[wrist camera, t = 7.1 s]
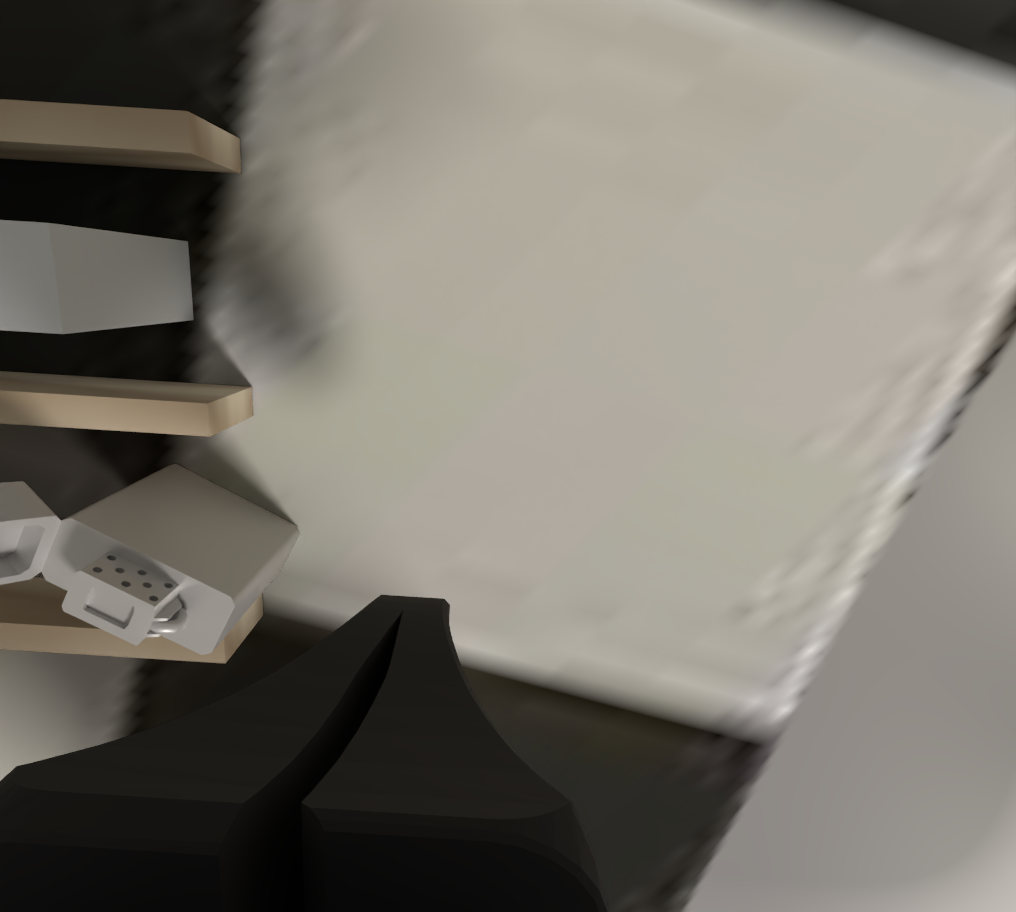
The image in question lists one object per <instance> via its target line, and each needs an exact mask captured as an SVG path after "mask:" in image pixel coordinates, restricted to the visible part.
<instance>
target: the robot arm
mask: <svg viewBox="0 0 1016 912" xmlns="http://www.w3.org/2000/svg"><path fill="white" fill-rule="evenodd" d="M449 610H450V605H449V604H448V603H447V601H446V600H445V599H438V598H422V597H406V596H390V595H380V596H379V597H378V598H376V599H375V600H374V601H372V602H371V603H370V604H369V605H367V606H366V607H365V608H364V609H362V610H361V611H360V612H359V613H358V614H356V615H355V616H354V617H352V618H351V619H350V620H349V621H347V622H346V623H345V624H343V625H342V626H341V627H340V628H338V629H337V630H336V631H334V632H333V633H332V634H330V635H329V636H328V637H326V638H325V639H324V640H322V641H321V642H319V643H318V644H316V645H315V646H313V647H312V648H310V649H309V650H307V651H306V652H304V653H303V654H301V655H300V656H299V657H297V658H296V659H294V660H293V661H291V662H290V663H288V664H287V665H285V666H283V667H282V668H280V669H278V670H277V671H275V672H273V673H272V674H270V675H268V676H266V677H265V678H263V679H261V680H259V681H257V682H255V683H253V684H251V685H250V686H248V687H246V688H244V689H242V690H240V691H238V692H236V693H234V694H232V695H230V696H228V697H225V698H223V699H221V700H219V701H216V702H214V703H212V704H210V705H207V706H205V707H203V708H200V709H198V710H196V711H194V712H191V713H189V714H187V715H185V716H182V717H180V718H177V719H175V720H172V721H169V722H166V723H164V724H161V725H158V726H156V727H153V728H150V729H147V730H144V731H141V732H138V733H135V734H132V735H129V736H126V737H123V738H120V739H117V740H114V741H111V742H108V743H104V744H101V745H98V746H94V747H90V748H86V749H83V750H79V751H75V752H71V753H68V754H64V755H60V756H56V757H53V758H49V759H45V760H41V761H37V762H33V763H29V764H25V765H21V766H17V767H15V768H14V769H13V770H12V771H11V772H10V773H9V774H8V775H7V776H5V777H4V778H3V779H2V780H1V781H0V912H609V908H608V904H607V899H606V894H605V891H604V887H603V883H602V879H601V876H600V873H599V869H598V866H597V862H596V859H595V856H594V854H593V851H592V848H591V845H590V842H589V840H588V837H587V834H586V832H585V829H584V827H583V824H582V822H581V819H580V817H579V815H578V812H577V810H576V808H575V806H574V804H573V803H572V802H571V801H570V800H569V799H567V798H566V797H565V796H564V795H562V794H561V793H560V792H559V791H557V790H556V789H555V788H554V787H552V786H551V785H550V784H549V783H547V782H546V781H545V780H543V779H542V778H541V777H540V776H538V775H537V774H536V773H535V772H534V771H533V770H532V769H531V768H530V767H529V766H528V765H527V764H525V763H524V762H523V761H522V760H521V758H520V757H519V756H518V755H517V754H516V752H515V751H514V750H513V749H512V748H511V746H510V745H509V744H508V743H507V741H506V740H505V739H504V738H503V737H502V735H501V734H500V733H499V732H498V731H497V729H496V728H495V726H494V725H493V723H492V722H491V720H490V719H489V717H488V716H487V714H486V713H485V711H484V710H483V708H482V706H481V705H480V703H479V701H478V700H477V698H476V696H475V694H474V692H473V690H472V688H471V686H470V684H469V682H468V680H467V678H466V676H465V673H464V671H463V669H462V666H461V664H460V661H459V659H458V656H457V653H456V649H455V646H454V643H453V640H452V636H451V632H450V627H449Z"/></svg>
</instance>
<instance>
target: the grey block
mask: <svg viewBox="0 0 1016 912" xmlns="http://www.w3.org/2000/svg"><path fill="white" fill-rule="evenodd" d="M190 320H194V318H193V305H192V291H191V277H190V263H189V250H188V241H181V240H174V239H166V238H159V237H151V236H144V235H136V234H129V233H121V232H113V231H106V230H98V229H91V228H83V227H76V226H68V225H61V224H53V223H42V222H26V221H10V220H0V330H4V331H20V332H36V333H52V334H70V333H79V332H88V331H97V330H107V329H116V328H125V327H134V326H144V325H153V324H162V323H172V322H181V321H190Z"/></svg>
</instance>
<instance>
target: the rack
mask: <svg viewBox="0 0 1016 912" xmlns="http://www.w3.org/2000/svg"><path fill="white" fill-rule="evenodd" d="M0 158H2V159H18V160H34V161H49V162H65V163H81V164H97V165H113V166H129V167H144V168H160V169H176V170H192V171H208V172H224V173H239V174H241V157H240V139H239V138H237V137H236V136H234V135H232V134H230V133H228V132H226V131H224V130H222V129H221V128H219V127H217V126H215V125H213V124H211V123H209V122H207V121H205V120H204V119H202V118H200V117H198V116H196V115H194V114H192V113H190V112H188V111H180V110H164V109H148V108H132V107H116V106H101V105H85V104H69V103H53V102H37V101H22V100H6V99H0ZM251 416H253V399H252V387H245V386H229V385H213V384H197V383H182V382H166V381H150V380H134V379H118V378H102V377H86V376H71V375H55V374H39V373H23V372H7V371H0V423H2V424H18V425H34V426H50V427H66V428H82V429H97V430H113V431H129V432H145V433H161V434H177V435H193V436H209V437H210V436H212V435H214V434H216V433H218V432H220V431H222V430H225V429H227V428H229V427H231V426H233V425H235V424H237V423H239V422H241V421H243V420H245V419H247V418H249V417H251ZM67 592H68V591H67V590H64V589H62V588H60V587H58V586H56V585H54V584H52V583H50V582H48V581H46V580H45V578H42V577H33V578H32V579H29V580H24V581H19V582H13V583H8V584H3V585H0V649H4V650H20V651H35V652H51V653H67V654H83V655H99V656H115V657H131V658H147V659H163V660H179V661H195V662H211V663H226V662H227V661H228V660H229V658H230V657H231V656H232V655H233V653H234V652H235V651H236V649H237V648H238V647H239V646H240V644H241V643H242V642H243V640H244V639H245V638H246V637H247V635H248V634H249V633H250V631H251V630H252V629H253V628H254V626H255V625H256V624H257V622H258V621H259V620H260V619H261V617H262V616H263V601H262V593H261V594H260V596H259V597H258V598H257V599H256V600H255V602H254V603H253V604H252V605H251V606H250V608H249V609H248V610H247V611H246V612H245V614H244V615H243V616H242V617H241V618H240V620H239V621H238V622H237V623H236V624H235V626H234V627H233V628H232V629H231V630H230V632H229V633H228V634H227V635H226V636H225V638H224V639H223V640H222V641H221V642H220V643H219V645H218V646H217V647H216V648H215V649H214V651H213V652H212V653H209V654H205V655H200V654H198V653H196V652H194V651H192V650H190V649H188V648H186V647H184V646H182V645H180V644H177V643H175V642H173V641H171V640H169V639H167V638H165V637H163V636H160V637H147V638H145V639H144V640H143V641H142V642H141V643H140V644H139V645H137V646H136V645H134V644H131V643H129V642H127V641H125V640H123V639H121V638H119V637H117V636H115V635H112V634H110V633H108V632H106V631H104V630H102V629H100V628H98V627H96V626H93V625H91V624H89V623H87V622H85V621H83V620H81V619H79V618H77V617H74V616H72V615H70V614H68V613H66V612H64V611H63V608H62V604H63V601H64V599H65V596H66V594H67Z"/></svg>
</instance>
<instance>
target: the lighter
mask: <svg viewBox="0 0 1016 912" xmlns="http://www.w3.org/2000/svg"><path fill="white" fill-rule="evenodd" d="M299 534H300V533H299V531H298V528H297V526H296V525H294V524H292V523H290V522H288V521H286V520H284V519H282V518H281V517H279V516H277V515H275V514H273V513H271V512H269V511H267V510H265V509H263V508H261V507H259V506H257V505H255V504H253V503H251V502H249V501H247V500H246V499H244V498H242V497H240V496H238V495H236V494H234V493H232V492H230V491H228V490H226V489H224V488H222V487H220V486H218V485H216V484H214V483H212V482H211V481H209V480H207V479H205V478H203V477H201V476H199V475H197V474H195V473H193V472H191V471H189V470H187V469H185V468H183V467H181V466H179V465H177V464H173V465H169V466H167V467H165V468H163V469H161V470H159V471H157V472H155V473H153V474H151V475H149V476H147V477H145V478H143V479H141V480H139V481H137V482H135V483H133V484H131V485H130V486H128V487H126V488H124V489H122V490H120V491H118V492H116V493H114V494H112V495H110V496H108V497H106V498H104V499H102V500H100V501H98V502H96V503H94V504H92V505H90V506H89V507H87V508H85V509H83V510H81V511H79V512H77V513H75V514H73V515H71V516H69V517H67V518H65V519H63V520H60V519H59V518H58V517H57V516H56V515H55V514H54V513H53V512H52V510H51V509H50V508H49V507H48V506H47V505H46V504H45V503H44V502H43V501H42V500H41V499H40V498H39V497H38V496H37V495H36V493H35V492H34V491H33V490H32V489H31V488H30V487H29V486H28V485H27V484H26V483H25V482H24V481H21V482H4V483H0V585H3V584H8V583H13V582H19V581H24V580H29V579H32V578H33V577H34V576H36V575H37V574H39V573H40V572H42V574H43V576H44V578H45V580H46V581H48V582H50V583H52V584H54V585H56V586H58V587H60V588H62V589H64V590H67V591H68V592H67V594H66V596H65V599H64V601H63V604H62V608H63V611H64V612H66V613H68V614H70V615H72V616H74V617H77V618H79V619H81V620H83V621H85V622H87V623H89V624H91V625H93V626H96V627H98V628H100V629H102V630H104V631H106V632H108V633H110V634H112V635H115V636H117V637H119V638H121V639H123V640H125V641H127V642H129V643H131V644H134V645H136V646H137V645H139V644H140V643H141V642H142V641H143V640H144V639H145V638H147V637H160V636H163V637H165V638H167V639H169V640H171V641H173V642H175V643H177V644H180V645H182V646H184V647H186V648H188V649H190V650H192V651H194V652H196V653H198V654H200V655H205V654H209V653H212V652H213V651H214V649H215V648H216V647H217V646H218V645H219V643H220V642H221V641H222V640H223V639H224V638H225V636H226V635H227V634H228V633H229V632H230V630H231V629H232V628H233V627H234V626H235V624H236V623H237V622H238V621H239V620H240V618H241V617H242V616H243V615H244V614H245V612H246V611H247V610H248V609H249V608H250V606H251V605H252V604H253V603H254V602H255V600H256V599H257V598H258V597H259V596H260V594H261V593H262V592H263V591H264V590H265V589H266V587H267V586H268V585H269V584H270V583H271V581H272V580H273V579H274V578H275V577H276V575H277V574H278V573H279V572H280V570H281V569H282V567H283V565H284V563H285V561H286V559H287V557H288V555H289V553H290V551H291V549H292V547H293V545H294V543H295V541H296V539H297V537H298V535H299Z"/></svg>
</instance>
